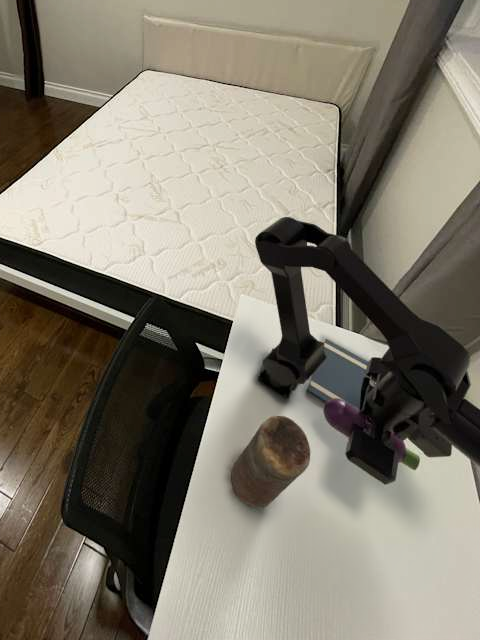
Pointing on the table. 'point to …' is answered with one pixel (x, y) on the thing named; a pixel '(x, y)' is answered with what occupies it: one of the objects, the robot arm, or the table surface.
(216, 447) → the table surface
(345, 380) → the towel
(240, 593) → the table surface
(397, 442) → the eggplant
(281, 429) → the brown textured cylinder
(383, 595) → the table surface
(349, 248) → the robot arm
